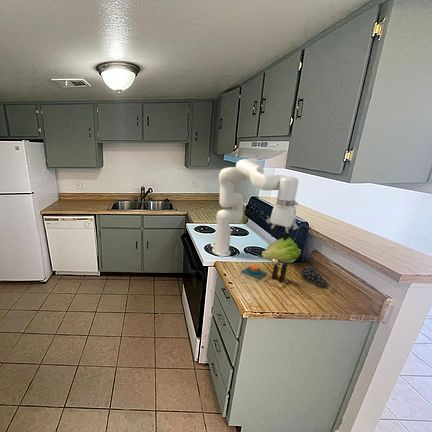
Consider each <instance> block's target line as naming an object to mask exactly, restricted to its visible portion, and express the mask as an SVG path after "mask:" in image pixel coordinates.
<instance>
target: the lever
mask: <svg viewBox="0 0 432 432" xmlns="http://www.w3.org/2000/svg"><path fill="white" fill-rule="evenodd" d="M270 262H271V264H272V265H273V266H274V265H277V267H279V269H282V265H283V264H284V263H283V262H280V263H278V260H277V259H272V260H271V261H270Z"/></svg>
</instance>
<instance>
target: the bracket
mask: <svg viewBox="0 0 432 432" xmlns="http://www.w3.org/2000/svg"><path fill="white" fill-rule="evenodd" d="M278 263H281V262H280V260H278ZM288 263H289V262H283V263H282V264H283V265H282V268H281V270H280V276H279V281H278V282H279V283H281V284H282V283H283V282H284V281H285V280H286V275H287V269H288V265H289V264H288ZM279 269H280V268H279V267H277V265H274V264H273V269H272V275H271V280H276V278H278V274H279Z"/></svg>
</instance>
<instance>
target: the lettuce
mask: <svg viewBox="0 0 432 432" xmlns="http://www.w3.org/2000/svg"><path fill="white" fill-rule="evenodd" d="M283 238H284V237H282V238H279V239H276V240H275V241H273V242H272V243H271V244H269V245H268V246H267V247H266V248H265V249H264V250H263V251H262V252H261V257H262V258H264V259H266V260H267V259H268V260H271V261H272V259H277V260H280V263H290V262H294V261H296V260H297V259H299V257H300V256H301V255H302V250H301V249H299V248H298V246H297V244H296V243H294V241H293V240H292V239H293V238H292V237H290V236H289V237H288V239H286V240H283ZM291 238H292V239H291Z"/></svg>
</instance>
